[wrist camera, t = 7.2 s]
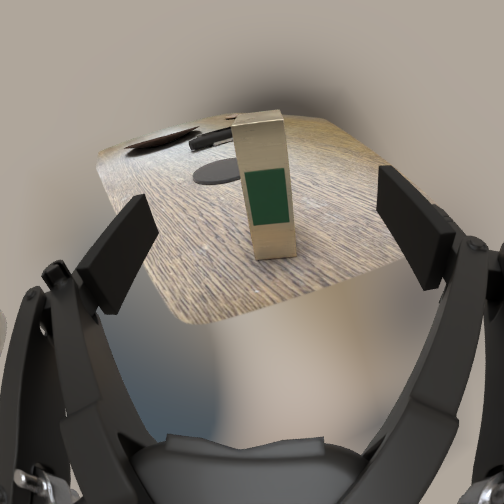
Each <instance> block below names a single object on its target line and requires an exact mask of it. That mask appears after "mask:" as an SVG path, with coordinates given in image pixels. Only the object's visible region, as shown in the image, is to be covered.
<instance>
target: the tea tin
mask: <svg viewBox="0 0 504 504" xmlns="http://www.w3.org/2000/svg"><path fill="white" fill-rule="evenodd" d="M231 130H232V135H233V141H234V146H235V152H236V157H237V162H238V168H239V173H240V179H241V184H242V189H243V195H244V200H245V206H246V211H247V216H248V222H249V227H250V233H251V238H252V244H253V249H254V255H255V260H264V259H275V258H286V257H296V256H297V254H296V239H295V226H294V214H293V202H292V191H291V180H290V170H289V161H288V152H287V143H286V134H285V126H284V119H283V117H282V114H281V112H280V110H271V111H262V112H254V113H247V114H240V115H238V116H237V118H236V119H235V121H234V122H233V124H232V125H231Z"/></svg>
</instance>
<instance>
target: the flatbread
mask: <svg viewBox="0 0 504 504" xmlns="http://www.w3.org/2000/svg"><path fill="white" fill-rule="evenodd" d="M238 115H240V114H233V115H230V116H227V117H225V118H236V117H237V116H238Z"/></svg>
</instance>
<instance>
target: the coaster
mask: <svg viewBox="0 0 504 504" xmlns="http://www.w3.org/2000/svg"><path fill="white" fill-rule="evenodd" d="M238 179H240V173H239V168H238V162H237V158H229V159H223V160H219V161H215V162H212V163H209V164H207V165H205V166H203V167H201V168H199V169H198V170H196V171H195V172H194V173H193V180H194V181H195V182H196V183H199V184H206V185H212V184H221V183H227V182H231V181H235V180H238Z"/></svg>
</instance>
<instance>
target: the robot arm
mask: <svg viewBox="0 0 504 504" xmlns="http://www.w3.org/2000/svg"><path fill="white" fill-rule="evenodd" d="M376 211H377V212H378V214H379V215H380V217H381V218H382V220H383V221H384V223H385V224H386V226H387V228H388V229H389V231H390V232H391V234H392V236H393V237H394V239H395V240H396V242H397V244H398V245H399V247H400V249H401V251H402V252H403V254H404V256H405V257H406V259H407V261H408V263H409V264H410V266H411V268H412V270H413V272H414V274H415V275H416V277H417V279H418V281H419V283H420V285H421V287H422V289H423V290H424V291H426V290H431V289H436V288H438V287H439V285H440V282H441V279H442V277H443V279H444V280H445V282H446V286H445V289H444V291H443V294H442V296H441V298H440V301H439V303H440V304H439V307H438V310H437V313H436V316H435V318H434V321H433V324H432V327H431V329H430V332H429V334H428V337H427V339H426V342H425V344H424V347H423V349H422V351H421V354H420V356H419V358H418V360H417V363H416V365H415V367H414V369H413V371H412V374H411V376H410V377H409V379H408V381H407V384H406V385H405V387H404V390H403V392H402V393H401V395H400V397H399V399H398V400H397V402H396V404H395V406H394V407H393V409H392V411H391V413H390V414H389V416H388V418H387V419H386V421H385V423H384V425H383V426H382V428H381V429H380V430H379V432H378V433H377V434H376V436H375V437H374V438H373V440H372V441H371V442H370V444H369V445H368V447H367V448H366V449H365V451H364V452H363V454H362V455H359V454H358V453H356V452H354V451H352V450H350V449H347V448H344V447H341V446H337V445H333V444H326V443H324V437H316V438H305V439H292V440H281V441H277V442H273V443H269V444H266V445H262V446H257V447H252V448H248V449H235V448H232V447H228V446H225V445H222V444H219V443H215V442H212V441H209V440H206V439H203V438H198V437H189V436H181V435H173V434H167V437H166V441H164V442H159V443H157V442H156V440H155V439H154V438H153V437H152V436H151V435H150V434H149V433H148V431H147V430H146V428H145V426H144V424H143V423H142V421H141V419H140V417H139V415H138V413H137V411H136V409H135V407H134V404H133V402H132V400H131V398H130V396H129V394H128V392H127V389H126V387H125V385H124V382H123V380H122V378H121V375H120V373H119V370H118V368H117V365H116V363H115V360H114V358H113V355H112V352H111V350H110V347H109V344H108V342H107V339H106V336H105V333H104V330H103V327H102V324H101V321H100V318H99V316H98V314H97V313H96V310H97V308H98V306H99V307H100V308H101V310H102V311H103V312H104V314H107V315H112V314H113V315H117V314H118V312H119V310H120V308H121V305H122V303H123V301H124V299H125V297H126V295H127V293H128V291H129V289H130V287H131V285H132V283H133V281H134V279H135V277H136V275H137V273H138V271H139V269H140V267H141V265H142V263H143V261H144V260H145V258H146V256H147V254H148V252H149V250H150V248H151V247H152V245H153V243H154V241H155V239H156V238H157V236H158V234H159V232H158V229H157V227H156V224H155V221H154V219H153V216H152V213H151V210H150V208H149V205H148V202H147V199H146V196H145V194H141V195H136V196H133V197H132V199H131V200H130V201H129V202H128V203H127V204H126V205H125V207H124V208H123V209H122V210H121V211H120V212H119V214H118V215H117V216H116V217H115V218H114V220H113V221H112V222H111V223H110V224H109V226H108V227H107V228H106V229H105V231H104V232H103V233H102V234H101V236H100V237H99V238H98V240H97V241H96V242H95V243H94V245H93V246H92V247H91V248H90V249H89V251H88V252H87V253H86V255H85V256H84V257H83V259H82V260H81V262H80V263H79V264H78V266H77V267H76V269H75V270H74V271H73V273H72V274H71V273H70V272H69V270H68V268H67V267H66V265H65V263H64V261H63V260H57V261H55V262H53V263H51V264H50V265H49V266H48V267H47V268H46V269H45V270H44V271H43V273H42V276H41V277H42V278H43V280H44V281H45V283H46V284H47V286H48V287H49V289H50V290H51V291H49V292H46V293H44V292H43V290H42V289H41V287H40V286H35V287H33V288H30V289H29V290H28V291H27V292H26V294H25V296H24V297H23V300H22V303H21V306H20V309H19V312H18V315H17V318H16V322H15V325H14V329H13V333H12V336H11V340H10V345H9V349H8V353H7V358H6V363H5V368H4V374H3V379H2V386H1V394H0V504H419V502H420V500H421V499H422V497H423V496H424V494H425V493H426V491H427V489H428V488H429V486H430V484H431V483H432V481H433V479H434V477H435V476H436V474H437V472H438V470H439V468H440V467H441V465H442V463H443V461H444V459H445V457H446V455H447V453H448V450H449V448H450V446H451V444H452V442H453V440H454V438H455V435H456V433H457V430H458V427H459V420H458V419H457V417H456V414H457V411H458V408H459V405H460V402H461V400H462V396H463V394H464V391H465V388H466V384H467V381H468V378H469V375H470V371H471V367H472V364H473V361H474V357H475V353H476V348H477V344H478V340H479V335H480V329H481V324H482V318H483V316H484V328H485V354H486V370H485V392H484V404H483V414H482V422H481V428H480V434H479V440H478V445H477V450H476V456H475V462H474V466H473V475H472V484H471V486H470V487H469V489H468V490H467V491H466V493H465V494H464V495H462V497H461V498H460V499H459V501H458V503H457V504H504V243H503V244H502V246H501V249H500V251H499V252H498V251H492V250H489V249H488V246H487V245H486V243H484V242H483V241H482V240H481V239H479V238H477V237H474V236H466V235H465V233H464V232H463V231H462V230H461V229H460V228H459V226H458V225H457V224H456V223H455V222H453V220H452V219H451V218H450V217H449V215H448V214H447V213H446V212H445V211H444V210H443V209H441V208H440V207H438V206H436V205H435V204H431V203H430V202H429V201H428V200H427V199H426V198H425V197H424V196H423V195H422V194H421V193H420V192H419V191H418V190H417V189H416V188H415V187H414V186H413V185H412V184H411V183H410V182H409V181H408V180H406V179H405V178H404V177H403V176H402V175H401V174H400V173H399V172H398V171H397V170H396V169H395V168H393V167H392V166H391V165H390V166H379V173H378V193H377V207H376ZM40 326H41V328H42V329H43V330H44V331H45V335H43V334H42V332H41V330H40ZM65 408H66V412H67V417H66V414H65ZM70 464H71V467H72V469H73V472H74V475H75V477H76V480H77V482H78V485H79V487H80V490H81V492H82V494H83V497H81V498H80V497H79V494H78V493H77V492H76V491H75V490H73V489H70V482H71V477H70Z"/></svg>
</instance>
